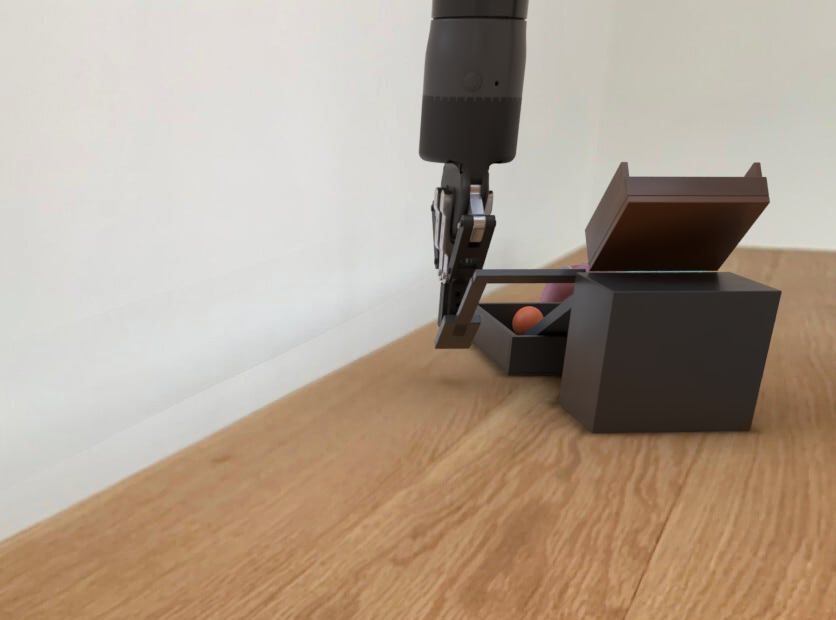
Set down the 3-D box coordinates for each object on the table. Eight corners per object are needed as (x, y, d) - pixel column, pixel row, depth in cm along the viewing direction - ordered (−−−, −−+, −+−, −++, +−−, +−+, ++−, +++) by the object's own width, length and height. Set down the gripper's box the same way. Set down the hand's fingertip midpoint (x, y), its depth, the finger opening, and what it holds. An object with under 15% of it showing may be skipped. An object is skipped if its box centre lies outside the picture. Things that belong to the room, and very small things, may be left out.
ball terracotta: (546, 300, 106) (550, 328, 106) (535, 319, 109) (538, 346, 109) (517, 299, 106) (520, 326, 105) (506, 317, 109) (509, 344, 108)
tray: (466, 339, 110) (469, 302, 108) (614, 338, 111) (620, 301, 109) (507, 378, 96) (512, 336, 94) (677, 376, 97) (684, 335, 95)
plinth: (557, 406, 88) (575, 272, 83) (703, 404, 89) (730, 271, 84) (591, 437, 81) (614, 291, 76) (749, 434, 82) (782, 290, 77)
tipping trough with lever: (434, 349, 93) (431, 311, 94) (659, 347, 95) (655, 309, 95) (491, 202, 74) (487, 155, 75) (770, 202, 76) (764, 157, 77)
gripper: (545, 93, 78) (516, 347, 87) (499, 90, 90) (477, 315, 99) (441, 92, 78) (422, 347, 87) (408, 89, 89) (394, 315, 98)
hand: (451, 330), depth 93 cm, fingers closed
